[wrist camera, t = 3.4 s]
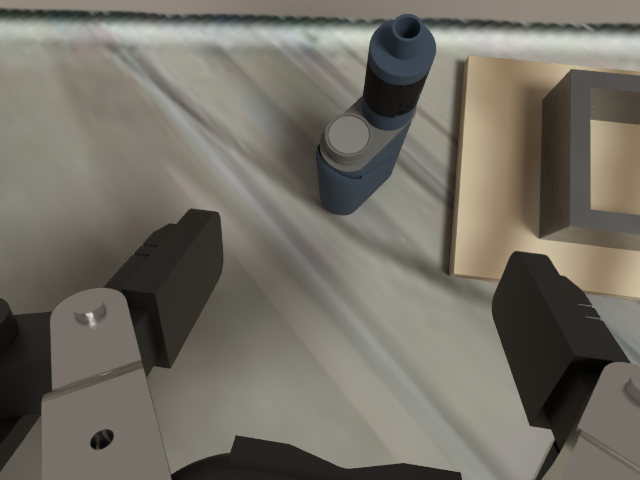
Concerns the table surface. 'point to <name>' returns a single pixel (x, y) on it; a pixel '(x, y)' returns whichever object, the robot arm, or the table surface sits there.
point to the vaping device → (375, 116)
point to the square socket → (583, 158)
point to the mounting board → (533, 179)
